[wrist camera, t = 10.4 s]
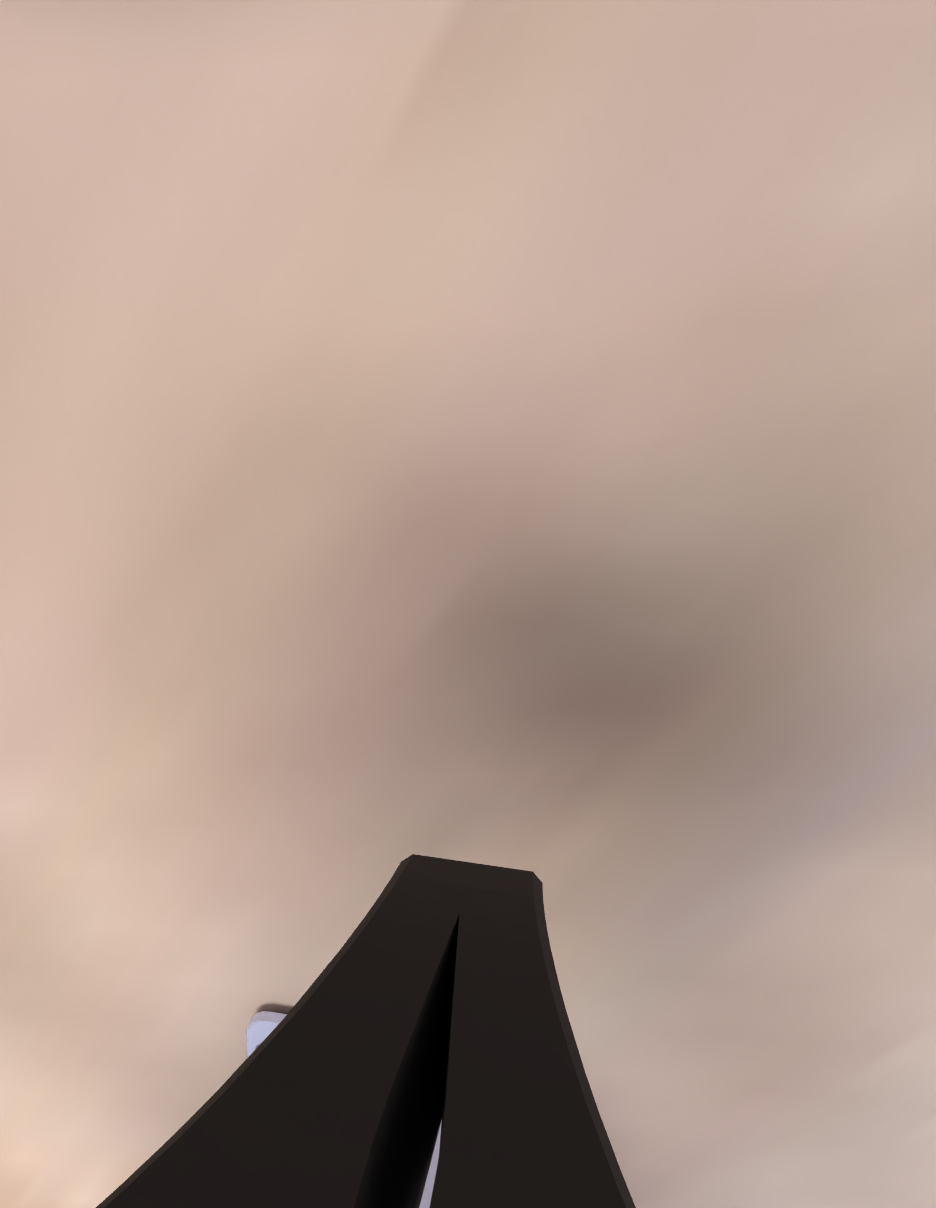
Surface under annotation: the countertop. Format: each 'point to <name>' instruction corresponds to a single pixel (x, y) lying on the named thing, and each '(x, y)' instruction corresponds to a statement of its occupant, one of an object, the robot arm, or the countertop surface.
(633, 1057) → the countertop surface
